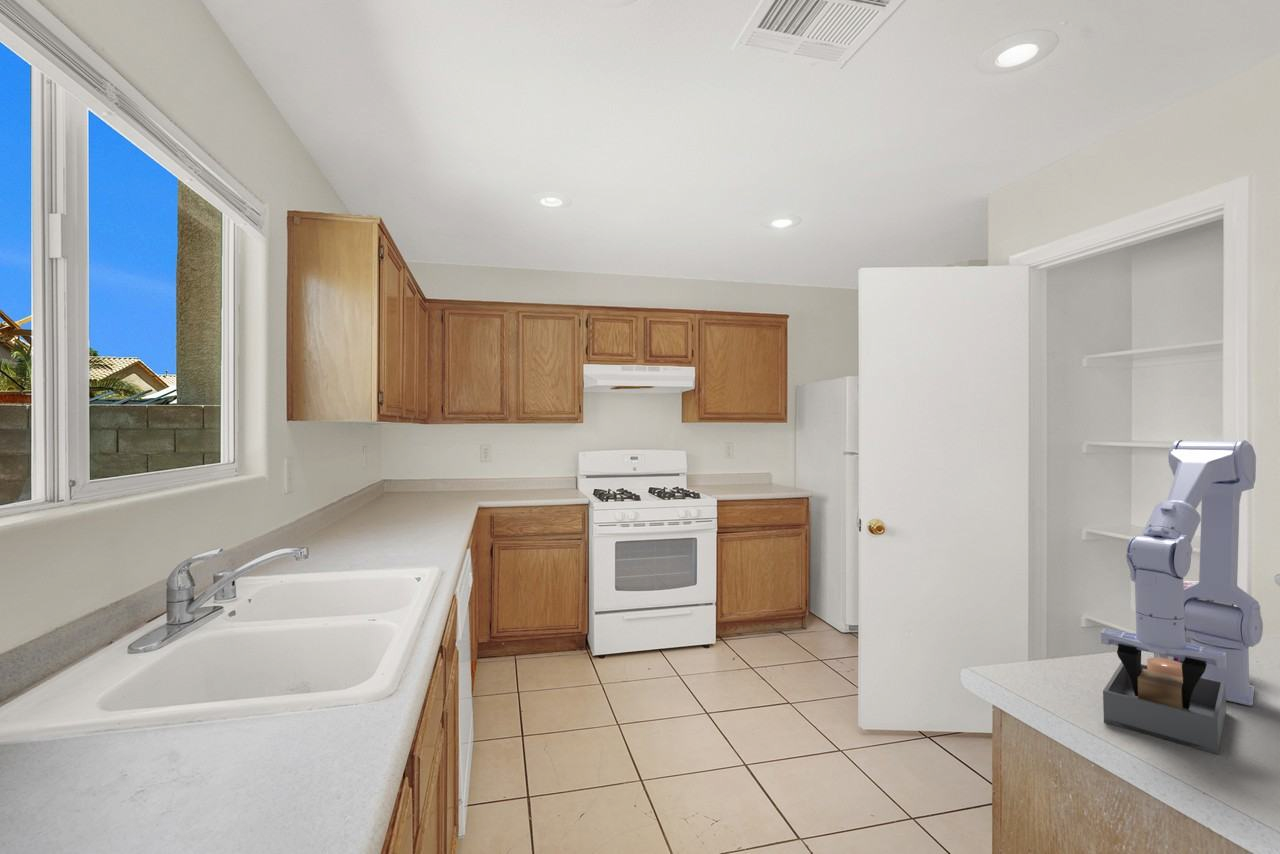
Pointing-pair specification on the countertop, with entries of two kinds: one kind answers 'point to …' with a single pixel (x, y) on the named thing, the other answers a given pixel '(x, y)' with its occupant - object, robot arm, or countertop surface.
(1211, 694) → the box
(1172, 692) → the walnut cube
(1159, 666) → the terracotta cylinder
